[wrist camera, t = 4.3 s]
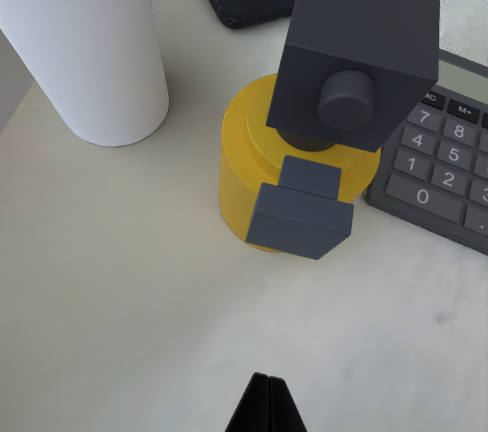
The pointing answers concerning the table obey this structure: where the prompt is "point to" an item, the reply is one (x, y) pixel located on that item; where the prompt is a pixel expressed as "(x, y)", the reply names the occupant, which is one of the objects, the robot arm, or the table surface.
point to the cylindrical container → (93, 63)
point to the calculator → (441, 158)
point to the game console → (251, 11)
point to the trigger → (301, 210)
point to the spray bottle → (329, 97)
